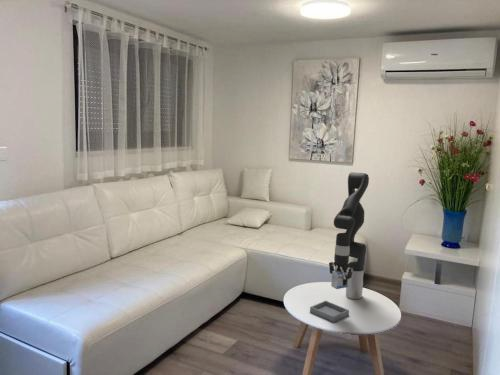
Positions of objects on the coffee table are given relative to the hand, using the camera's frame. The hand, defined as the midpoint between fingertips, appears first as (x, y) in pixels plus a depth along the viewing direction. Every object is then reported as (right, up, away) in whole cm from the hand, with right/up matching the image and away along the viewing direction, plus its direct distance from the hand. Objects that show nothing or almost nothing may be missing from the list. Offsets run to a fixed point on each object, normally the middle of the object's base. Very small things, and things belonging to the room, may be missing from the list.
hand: (339, 283), depth 213 cm
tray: (-5, -17, +3) cm, 18 cm away
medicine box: (0, -2, 0) cm, 2 cm away
